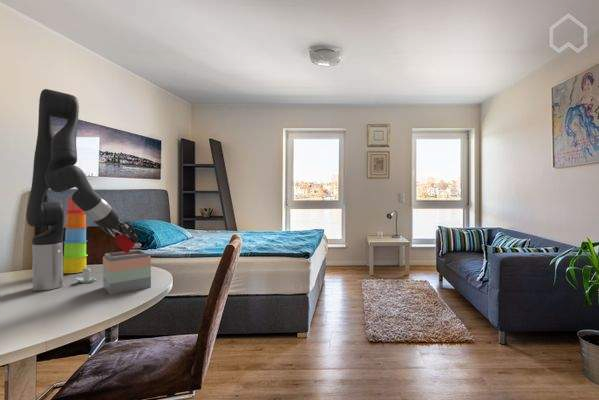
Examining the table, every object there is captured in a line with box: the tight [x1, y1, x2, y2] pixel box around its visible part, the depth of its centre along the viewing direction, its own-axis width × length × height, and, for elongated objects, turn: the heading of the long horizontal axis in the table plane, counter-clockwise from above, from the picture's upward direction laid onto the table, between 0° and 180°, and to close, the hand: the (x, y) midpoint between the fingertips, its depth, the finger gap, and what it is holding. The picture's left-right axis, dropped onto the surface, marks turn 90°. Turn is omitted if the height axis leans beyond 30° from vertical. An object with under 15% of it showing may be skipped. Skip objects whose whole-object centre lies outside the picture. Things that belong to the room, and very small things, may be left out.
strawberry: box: [114, 233, 138, 253], centre depth 122 cm, size 6×8×10 cm
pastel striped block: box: [102, 249, 152, 295], centre depth 122 cm, size 14×12×13 cm
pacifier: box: [75, 267, 98, 284], centre depth 130 cm, size 7×6×6 cm
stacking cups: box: [63, 197, 89, 274], centre depth 147 cm, size 10×10×35 cm
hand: (130, 241), depth 124 cm, fingers closed on strawberry, 6 cm apart
